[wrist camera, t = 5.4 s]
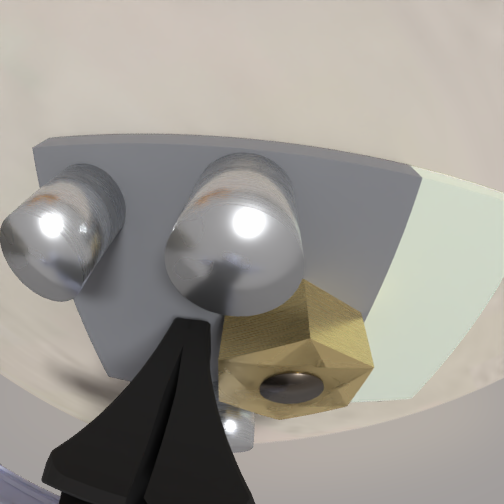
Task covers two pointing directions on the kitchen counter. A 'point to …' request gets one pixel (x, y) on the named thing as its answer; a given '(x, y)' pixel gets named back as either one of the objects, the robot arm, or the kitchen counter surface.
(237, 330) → the brass nut
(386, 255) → the board
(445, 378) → the kitchen counter surface
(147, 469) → the robot arm
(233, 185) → the cylinder
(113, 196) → the cylinder
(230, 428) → the cylinder
